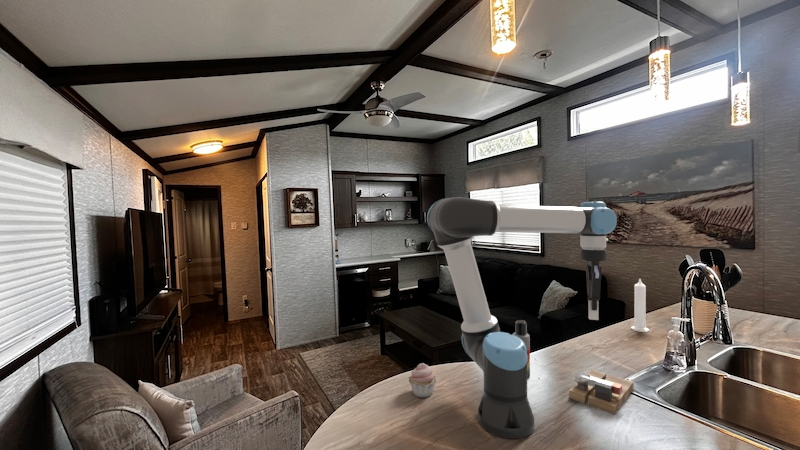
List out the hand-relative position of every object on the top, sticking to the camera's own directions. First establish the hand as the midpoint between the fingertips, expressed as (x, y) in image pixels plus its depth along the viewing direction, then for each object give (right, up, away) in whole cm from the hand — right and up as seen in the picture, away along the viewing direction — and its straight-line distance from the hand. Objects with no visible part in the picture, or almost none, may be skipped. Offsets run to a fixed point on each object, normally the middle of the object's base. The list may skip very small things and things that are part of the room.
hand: (593, 319), depth 115 cm
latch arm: (-4, -19, -8) cm, 21 cm away
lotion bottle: (-21, -23, +8) cm, 32 cm away
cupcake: (-57, -24, -2) cm, 62 cm away
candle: (+52, -20, +53) cm, 77 cm away
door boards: (0, -23, -4) cm, 23 cm away
